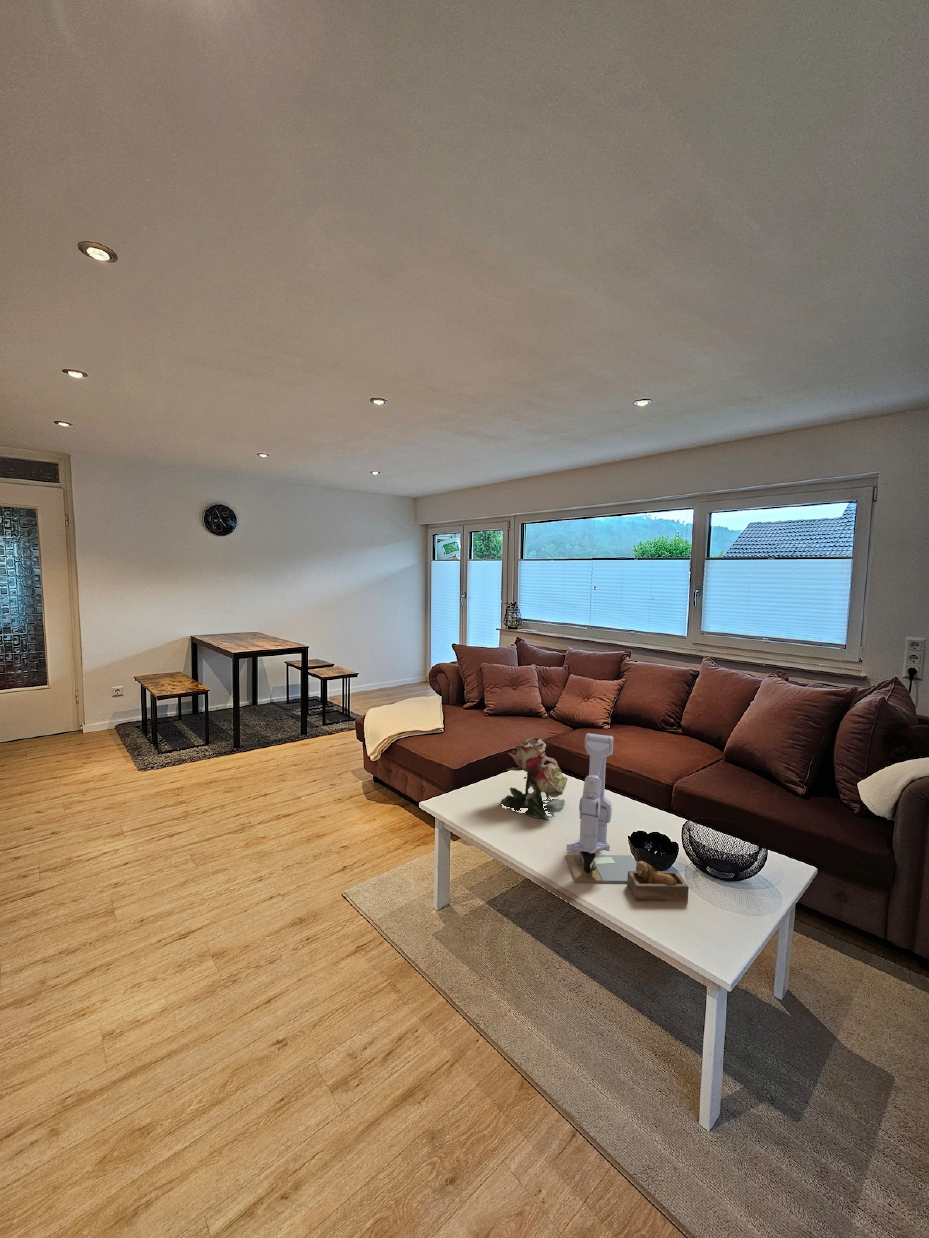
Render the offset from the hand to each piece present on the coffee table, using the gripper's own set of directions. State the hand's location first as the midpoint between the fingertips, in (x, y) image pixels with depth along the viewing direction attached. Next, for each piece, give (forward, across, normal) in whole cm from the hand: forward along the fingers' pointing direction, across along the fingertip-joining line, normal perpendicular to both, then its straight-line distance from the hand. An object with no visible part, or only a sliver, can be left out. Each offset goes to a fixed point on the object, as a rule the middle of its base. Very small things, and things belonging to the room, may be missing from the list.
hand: (587, 871), depth 174 cm
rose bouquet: (+2, -1, +56) cm, 56 cm away
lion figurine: (+2, +19, -12) cm, 22 cm away
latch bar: (0, +1, +1) cm, 2 cm away
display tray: (+2, +19, -12) cm, 22 cm away
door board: (+2, +8, +3) cm, 9 cm away
